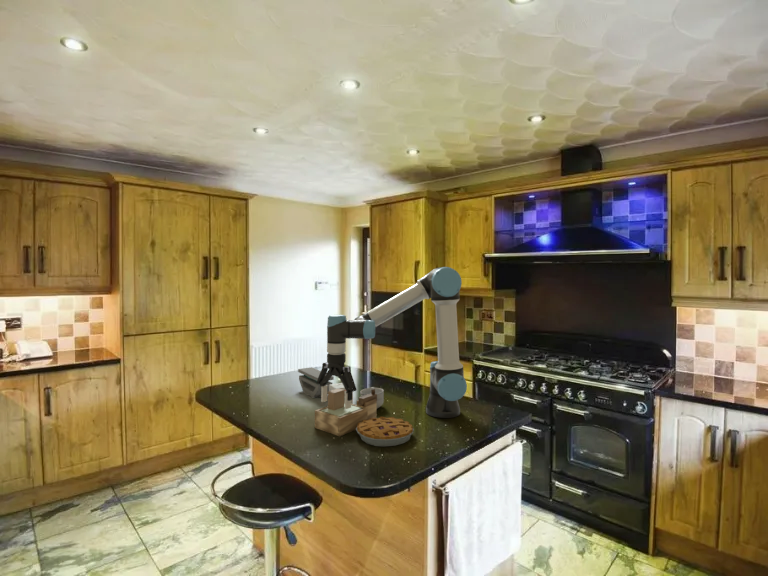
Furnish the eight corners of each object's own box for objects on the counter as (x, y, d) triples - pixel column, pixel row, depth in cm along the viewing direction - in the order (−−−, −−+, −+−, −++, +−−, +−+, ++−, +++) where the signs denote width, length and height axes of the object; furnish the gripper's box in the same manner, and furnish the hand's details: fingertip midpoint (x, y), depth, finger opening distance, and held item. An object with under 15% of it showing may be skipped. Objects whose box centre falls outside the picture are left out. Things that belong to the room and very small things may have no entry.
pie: (368, 452, 146) (368, 438, 146) (348, 431, 166) (348, 418, 166) (424, 443, 155) (424, 429, 155) (398, 423, 175) (398, 411, 175)
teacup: (380, 411, 189) (381, 394, 189) (357, 410, 191) (357, 392, 191) (386, 402, 203) (387, 386, 202) (364, 401, 205) (365, 384, 205)
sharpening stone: (333, 398, 209) (333, 376, 209) (319, 401, 204) (319, 378, 204) (311, 387, 229) (311, 367, 229) (298, 389, 225) (298, 369, 225)
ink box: (335, 414, 185) (335, 388, 184) (328, 409, 192) (328, 383, 192) (353, 412, 188) (353, 386, 188) (345, 406, 196) (346, 381, 196)
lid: (361, 410, 172) (361, 391, 172) (339, 418, 162) (340, 398, 162) (342, 405, 179) (342, 386, 178) (320, 412, 169) (320, 393, 169)
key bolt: (376, 400, 181) (377, 389, 180) (363, 405, 174) (363, 393, 173) (372, 399, 182) (372, 388, 182) (358, 404, 175) (358, 392, 175)
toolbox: (378, 420, 178) (378, 399, 178) (339, 436, 160) (339, 413, 160) (353, 413, 187) (353, 393, 186) (314, 427, 169) (314, 406, 168)
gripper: (365, 355, 167) (364, 408, 167) (321, 348, 182) (321, 396, 183) (352, 358, 161) (352, 413, 162) (308, 350, 176) (308, 400, 177)
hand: (335, 404), depth 172 cm, fingers open, 13 cm apart
